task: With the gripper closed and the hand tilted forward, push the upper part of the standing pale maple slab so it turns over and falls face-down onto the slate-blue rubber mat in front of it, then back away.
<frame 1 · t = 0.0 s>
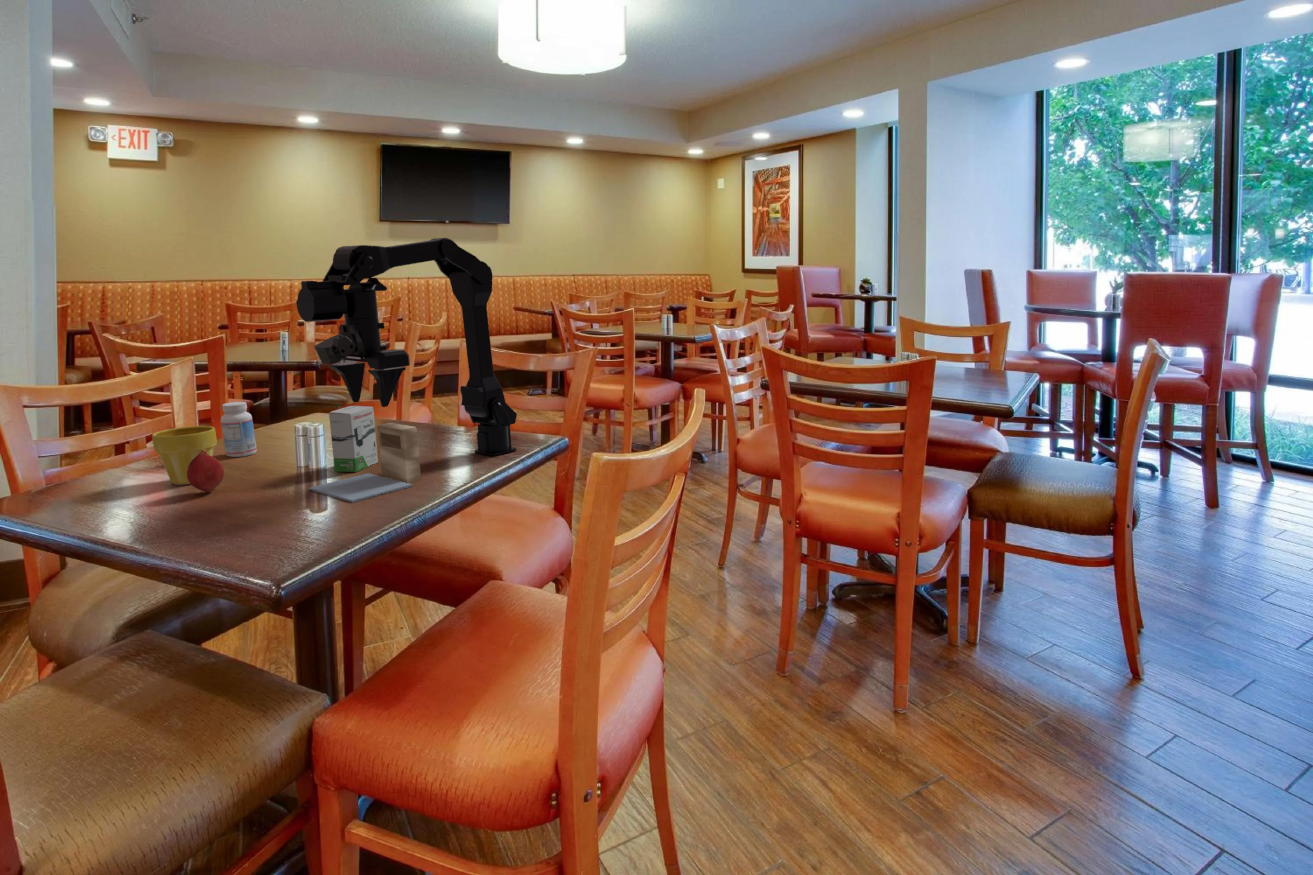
hand: (370, 404, 146), 15 cm above the table, tool pointing down, fingers open, 9 cm apart
plant pot: (191, 481, 154), on the table
ink box: (357, 467, 161), on the table
onion: (208, 493, 145), on the table
rubber mat: (361, 488, 146), on the table
maple slab: (401, 477, 152), on the table
pill bottle: (241, 455, 175), on the table
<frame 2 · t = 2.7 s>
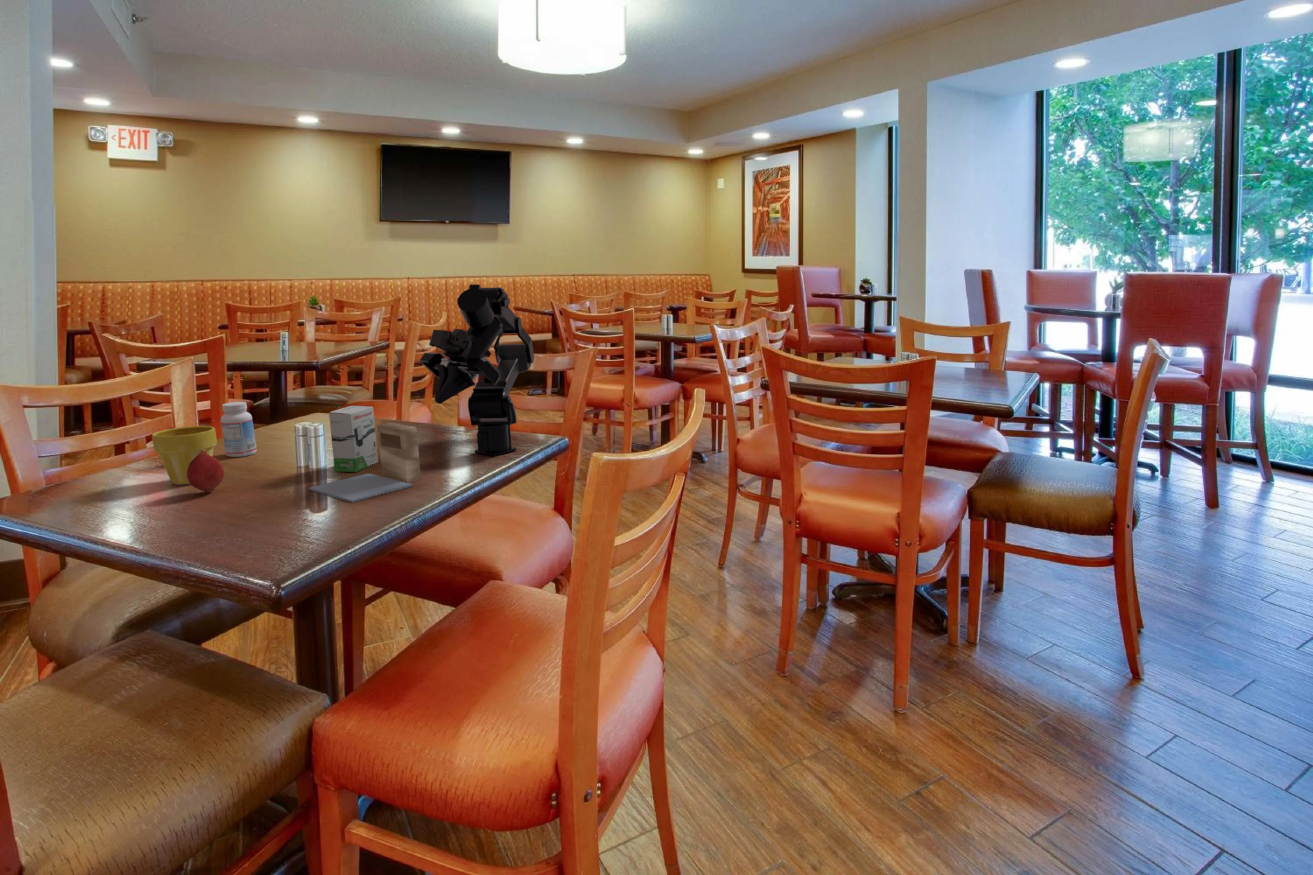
hand: (437, 402, 157), 13 cm above the table, tool tilted 45°, fingers closed
nothing on the table moved.
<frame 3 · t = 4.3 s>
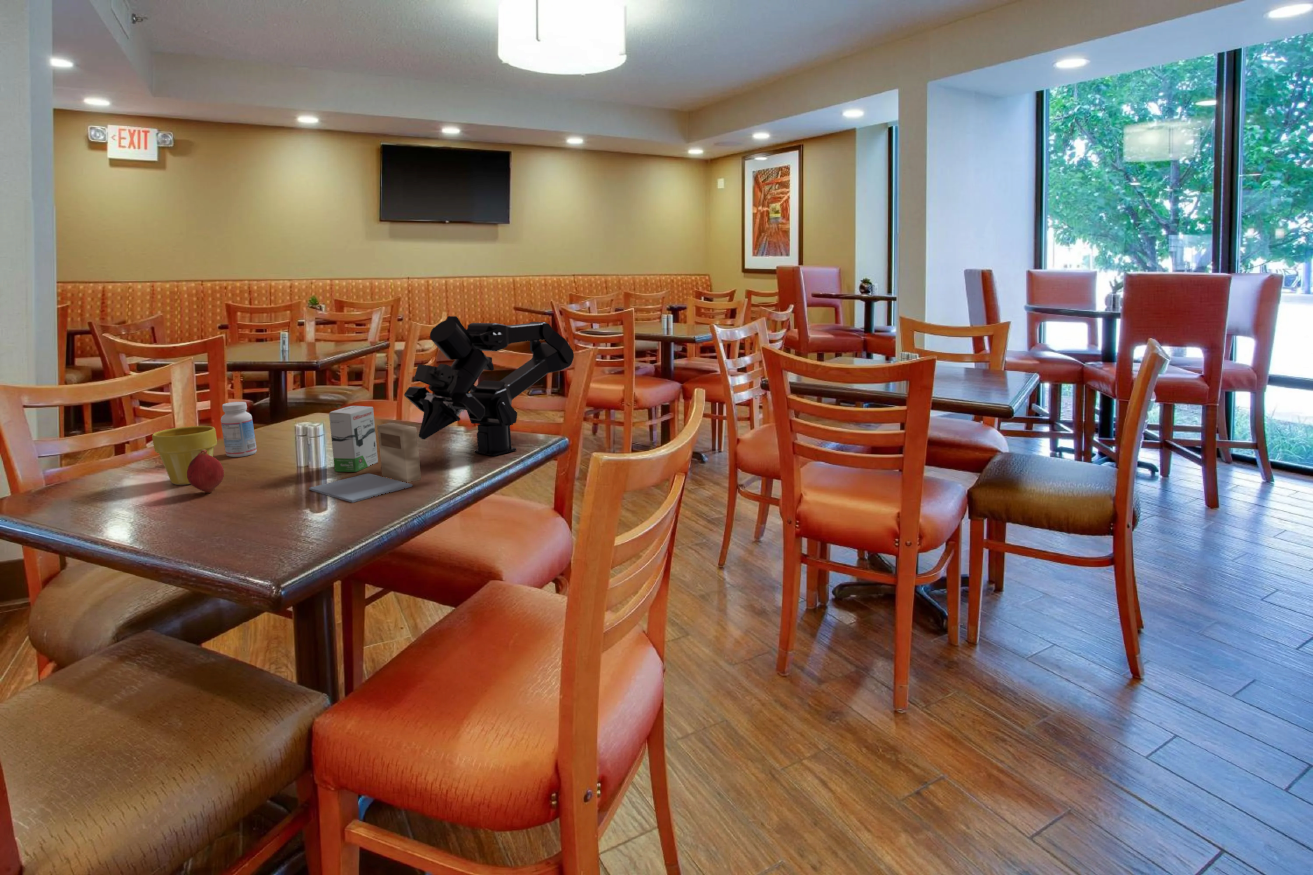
hand: (421, 438, 155), 7 cm above the table, tool tilted 45°, fingers closed
nothing on the table moved.
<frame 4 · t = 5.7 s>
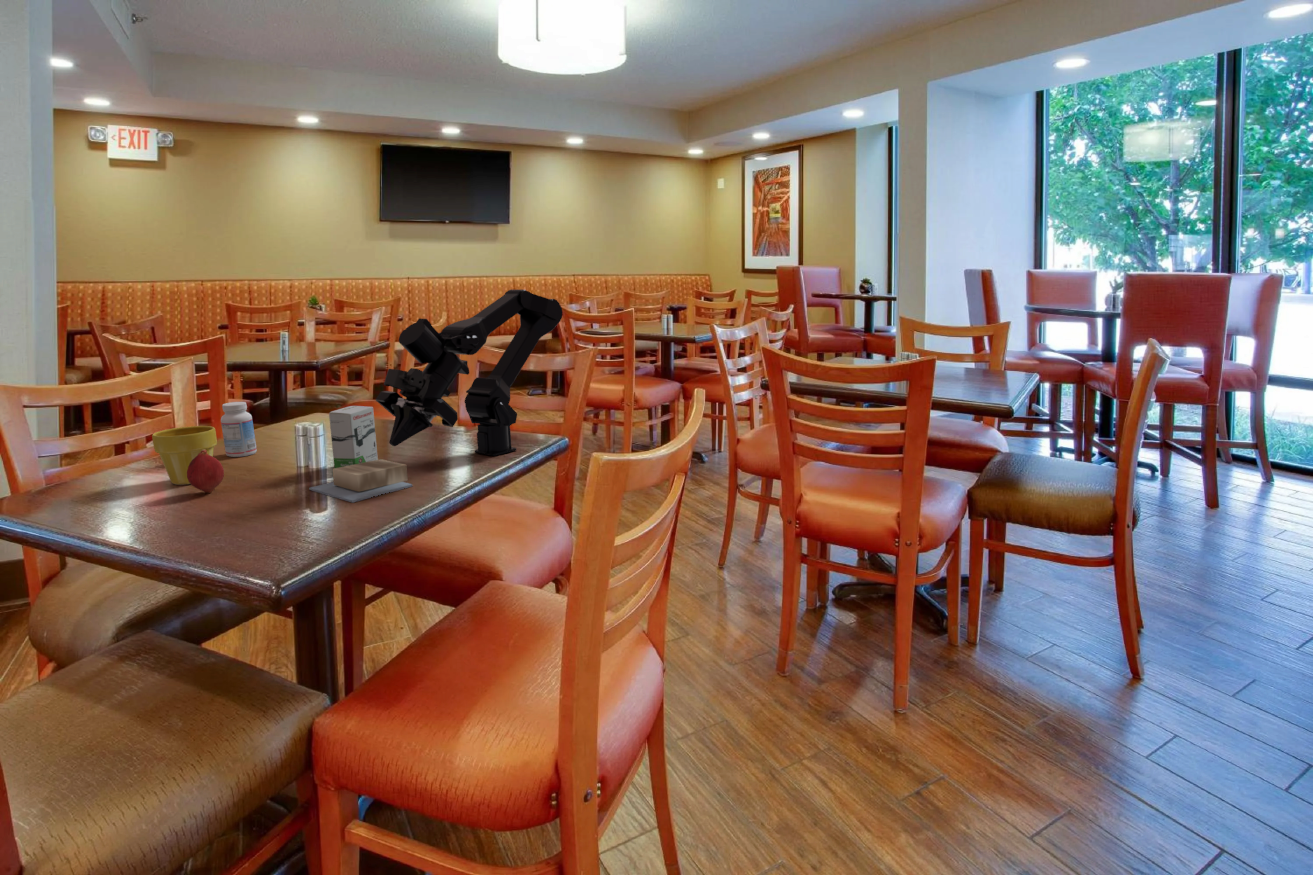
hand: (392, 444, 150), 7 cm above the table, tool tilted 45°, fingers closed
maple slab: (394, 469, 151), point 2 cm above the table, tilted 88°, touching rubber mat
everything else where it was.
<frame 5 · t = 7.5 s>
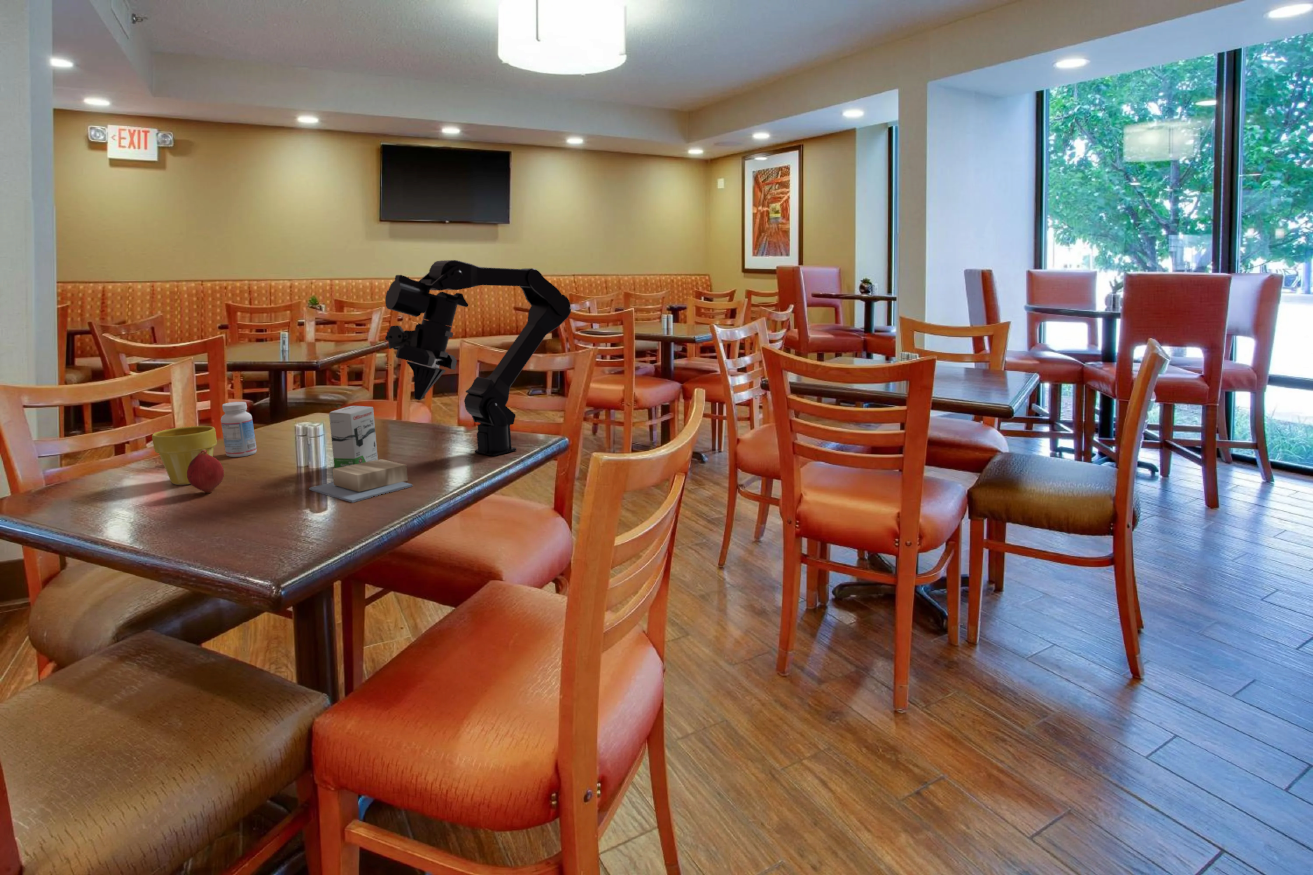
hand: (417, 399, 159), 13 cm above the table, tool tilted 20°, fingers closed
nothing on the table moved.
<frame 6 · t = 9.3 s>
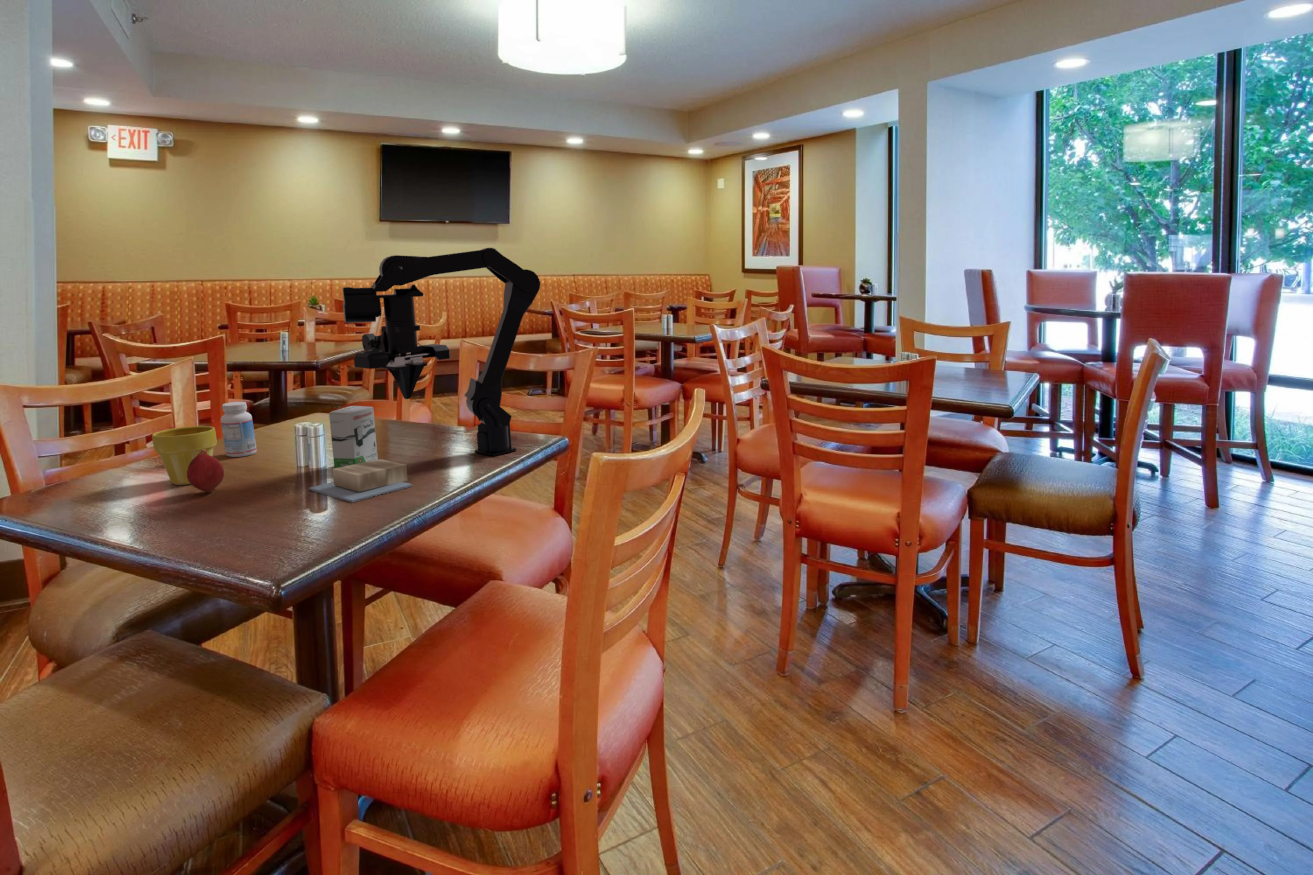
hand: (407, 398, 162), 13 cm above the table, tool pointing down, fingers closed
nothing on the table moved.
at the end: maple slab tilted 88°; maple slab inside the target area (9.4 cm from its centre), point 1.9 cm above the table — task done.
